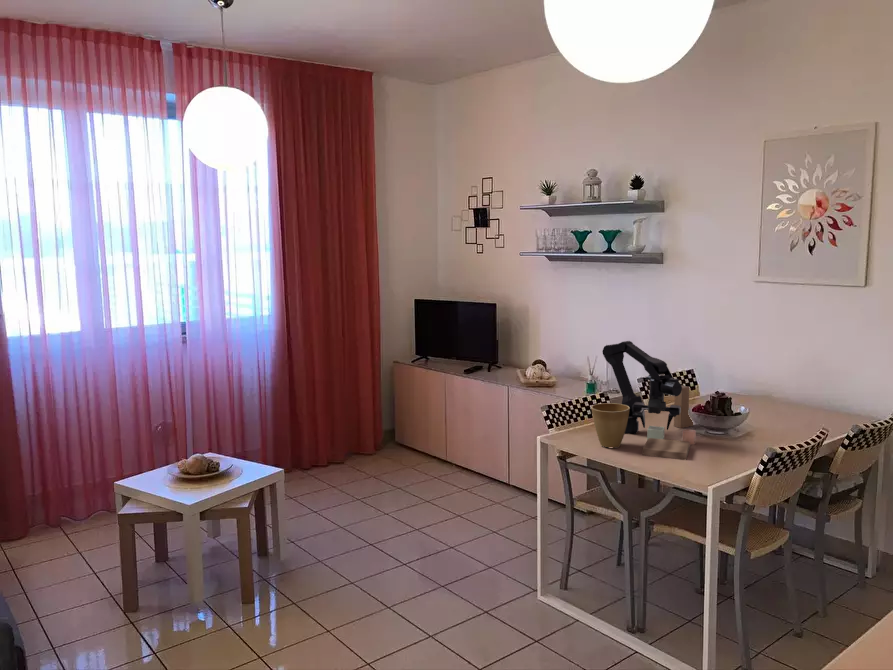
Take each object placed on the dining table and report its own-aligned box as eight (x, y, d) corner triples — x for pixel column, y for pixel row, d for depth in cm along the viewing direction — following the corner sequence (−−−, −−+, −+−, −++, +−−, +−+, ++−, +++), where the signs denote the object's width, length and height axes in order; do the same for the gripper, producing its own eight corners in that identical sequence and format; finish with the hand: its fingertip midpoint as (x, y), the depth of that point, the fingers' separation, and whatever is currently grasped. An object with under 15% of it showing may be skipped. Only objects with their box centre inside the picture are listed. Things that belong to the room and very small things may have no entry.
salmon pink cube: (681, 444, 293) (682, 431, 292) (682, 440, 297) (683, 428, 297) (694, 445, 291) (695, 433, 290) (695, 441, 295) (696, 430, 295)
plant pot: (624, 440, 299) (625, 402, 297) (632, 451, 284) (633, 411, 282) (588, 440, 299) (588, 402, 297) (594, 451, 285) (595, 411, 282)
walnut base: (642, 455, 279) (642, 448, 279) (648, 443, 294) (648, 437, 293) (686, 459, 273) (686, 453, 272) (689, 447, 287) (690, 441, 287)
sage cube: (647, 441, 298) (647, 429, 297) (649, 437, 303) (649, 425, 302) (662, 442, 295) (662, 430, 294) (664, 438, 301) (664, 427, 300)
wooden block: (687, 423, 323) (689, 383, 321) (695, 425, 319) (697, 385, 317) (673, 426, 319) (674, 386, 316) (681, 428, 315) (682, 388, 313)
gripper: (630, 394, 293) (629, 431, 295) (678, 397, 285) (677, 436, 288) (634, 388, 303) (633, 424, 305) (681, 391, 295) (680, 429, 298)
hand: (655, 428), depth 299 cm, fingers open, 9 cm apart
